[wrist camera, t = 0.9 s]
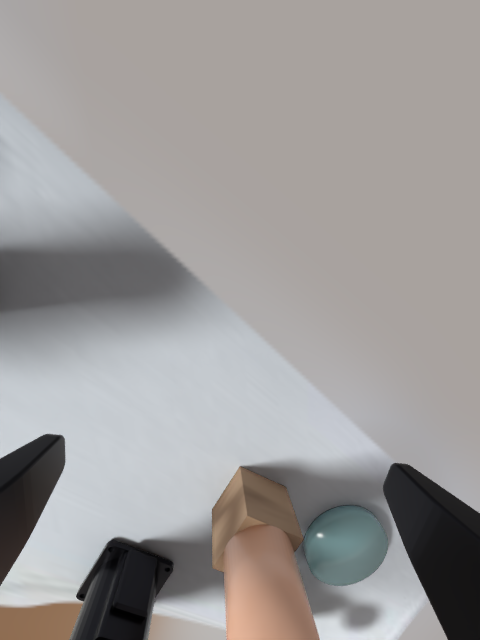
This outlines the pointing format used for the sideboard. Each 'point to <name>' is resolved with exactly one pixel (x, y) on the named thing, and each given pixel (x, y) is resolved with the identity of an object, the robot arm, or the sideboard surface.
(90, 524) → the sideboard surface
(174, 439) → the sideboard surface
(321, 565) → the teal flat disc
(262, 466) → the sideboard surface
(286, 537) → the peach rounded cylinder
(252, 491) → the block
